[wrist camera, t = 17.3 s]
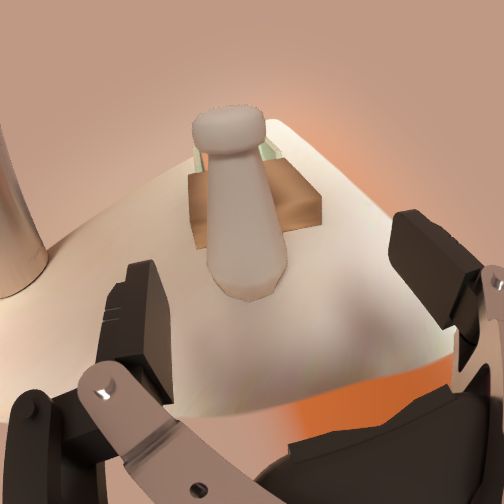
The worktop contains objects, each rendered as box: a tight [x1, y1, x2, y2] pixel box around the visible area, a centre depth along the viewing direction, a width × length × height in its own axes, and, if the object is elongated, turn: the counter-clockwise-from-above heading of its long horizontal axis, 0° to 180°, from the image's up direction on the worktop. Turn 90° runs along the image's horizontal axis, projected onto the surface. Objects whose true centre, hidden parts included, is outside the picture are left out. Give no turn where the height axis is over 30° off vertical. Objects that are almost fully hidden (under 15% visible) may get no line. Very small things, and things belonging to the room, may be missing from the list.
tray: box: [193, 137, 282, 173], centre depth 43 cm, size 11×10×4 cm
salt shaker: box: [192, 105, 287, 302], centre depth 21 cm, size 6×6×13 cm
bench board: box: [188, 158, 322, 249], centre depth 34 cm, size 12×12×3 cm
